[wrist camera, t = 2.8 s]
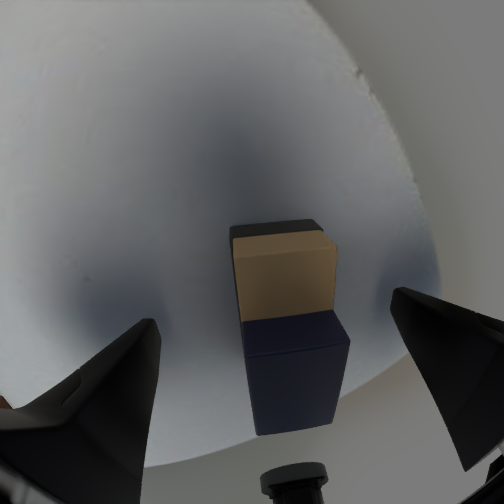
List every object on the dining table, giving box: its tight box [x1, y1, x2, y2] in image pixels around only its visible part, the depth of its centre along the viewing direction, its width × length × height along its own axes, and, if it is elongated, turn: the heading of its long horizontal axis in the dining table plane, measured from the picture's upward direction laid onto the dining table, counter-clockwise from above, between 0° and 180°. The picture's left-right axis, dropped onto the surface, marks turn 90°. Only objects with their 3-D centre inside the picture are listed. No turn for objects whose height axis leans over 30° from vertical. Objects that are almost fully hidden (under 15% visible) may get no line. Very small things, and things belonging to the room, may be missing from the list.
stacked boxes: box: [230, 219, 350, 436], centre depth 8 cm, size 6×3×4 cm, turn 5°
